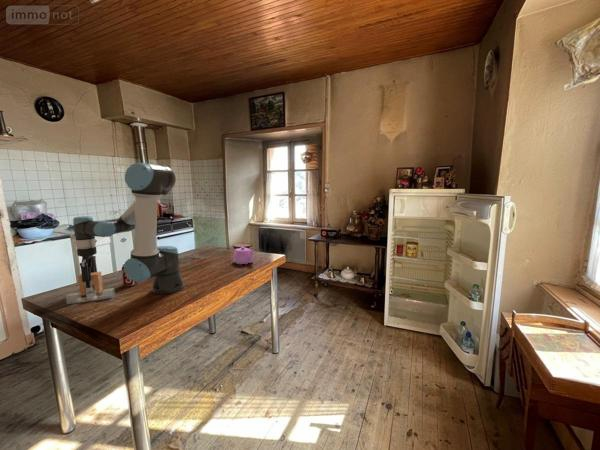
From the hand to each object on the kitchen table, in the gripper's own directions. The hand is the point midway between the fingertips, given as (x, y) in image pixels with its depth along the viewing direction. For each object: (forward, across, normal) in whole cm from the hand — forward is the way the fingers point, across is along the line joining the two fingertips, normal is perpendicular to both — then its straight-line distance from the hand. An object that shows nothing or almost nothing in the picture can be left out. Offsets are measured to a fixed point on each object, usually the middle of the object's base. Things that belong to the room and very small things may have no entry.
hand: (91, 291), depth 132 cm
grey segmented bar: (+1, +10, +3) cm, 10 cm away
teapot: (+1, -22, +82) cm, 85 cm away
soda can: (+1, -5, +16) cm, 17 cm away
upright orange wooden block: (+1, 0, 0) cm, 1 cm away
